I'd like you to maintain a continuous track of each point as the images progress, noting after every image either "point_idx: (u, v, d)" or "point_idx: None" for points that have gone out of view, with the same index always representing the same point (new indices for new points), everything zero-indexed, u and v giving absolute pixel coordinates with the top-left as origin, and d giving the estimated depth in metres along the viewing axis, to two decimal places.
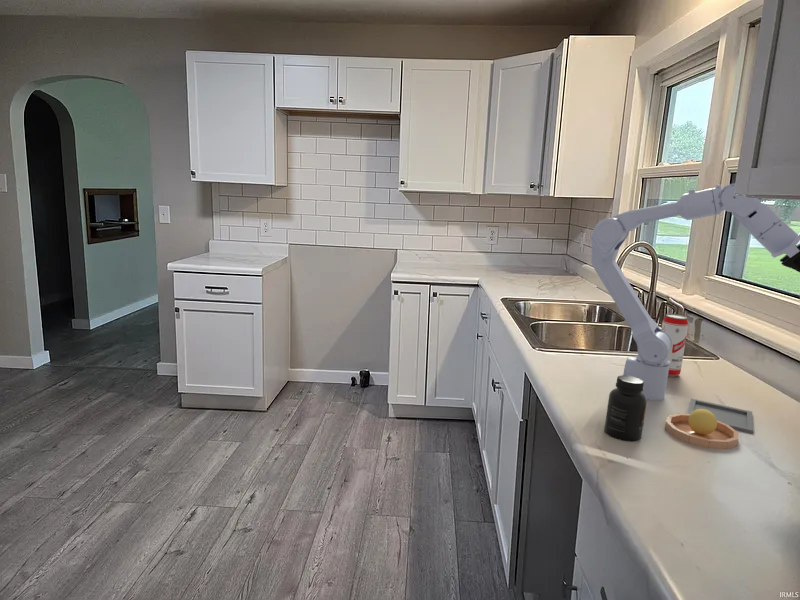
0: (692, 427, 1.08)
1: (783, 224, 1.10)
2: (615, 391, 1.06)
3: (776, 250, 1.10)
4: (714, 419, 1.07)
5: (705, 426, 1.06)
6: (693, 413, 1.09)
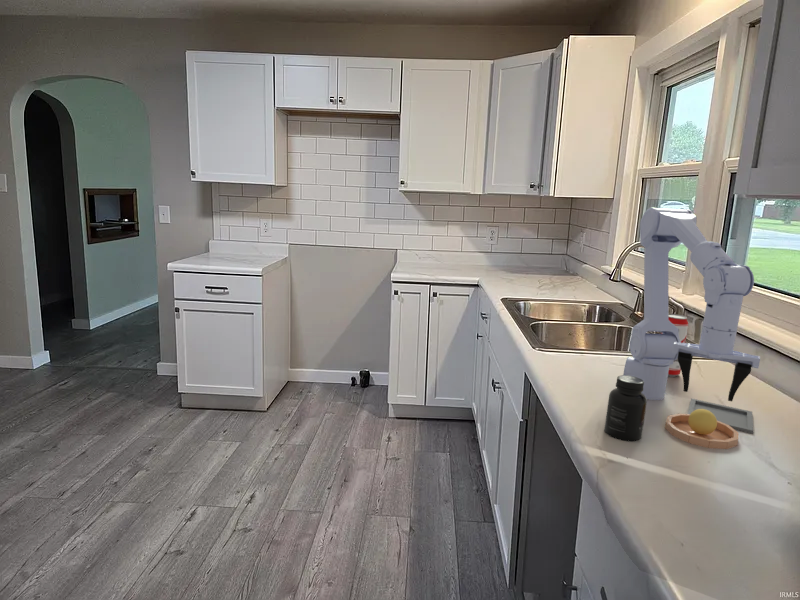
0: (692, 427, 1.08)
1: (709, 334, 1.03)
2: (615, 391, 1.06)
3: None
4: (714, 419, 1.07)
5: (705, 426, 1.06)
6: (693, 413, 1.09)
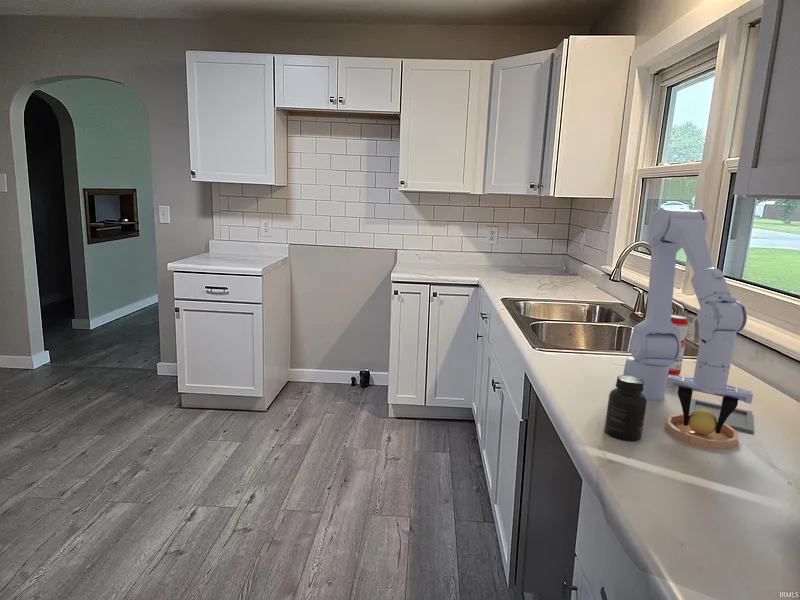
0: (692, 427, 1.08)
1: (703, 369, 1.05)
2: (615, 391, 1.06)
3: None
4: (714, 419, 1.07)
5: (706, 426, 1.06)
6: (693, 413, 1.09)
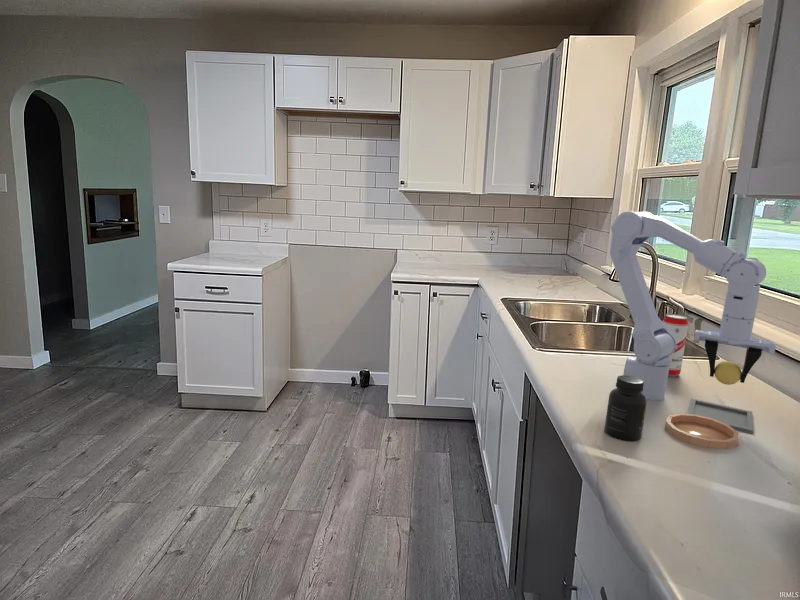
0: (718, 377, 1.16)
1: (729, 322, 1.13)
2: (615, 391, 1.06)
3: None
4: (739, 369, 1.14)
5: (731, 375, 1.14)
6: (719, 365, 1.16)
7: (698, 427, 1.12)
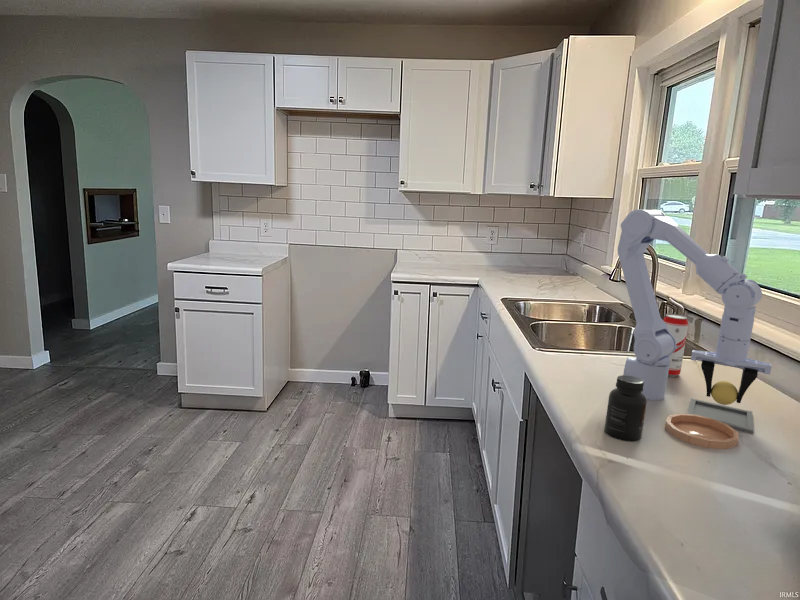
0: (714, 398, 1.17)
1: (725, 343, 1.14)
2: (615, 391, 1.06)
3: None
4: (735, 390, 1.15)
5: (727, 396, 1.15)
6: (715, 385, 1.17)
7: (698, 427, 1.12)
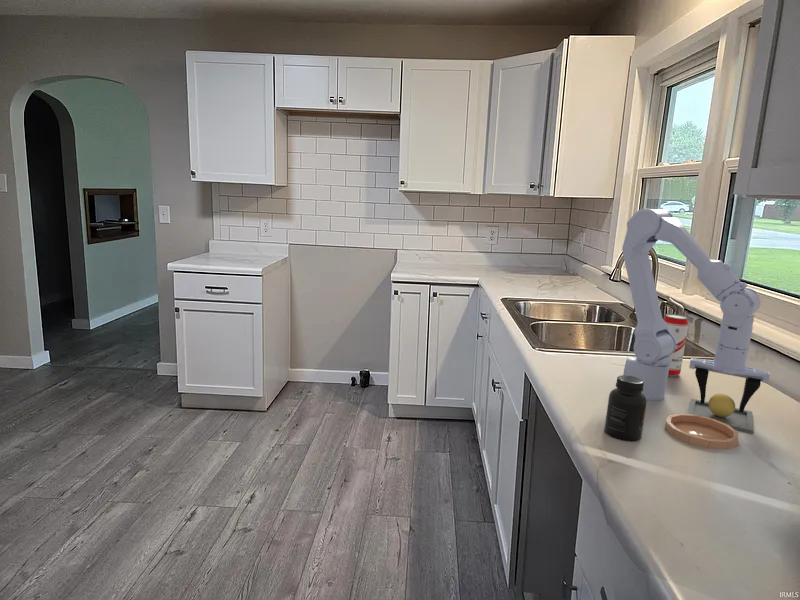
0: (712, 410, 1.18)
1: (723, 352, 1.14)
2: (615, 391, 1.06)
3: None
4: (732, 402, 1.16)
5: (724, 408, 1.16)
6: (713, 397, 1.18)
7: (698, 427, 1.12)
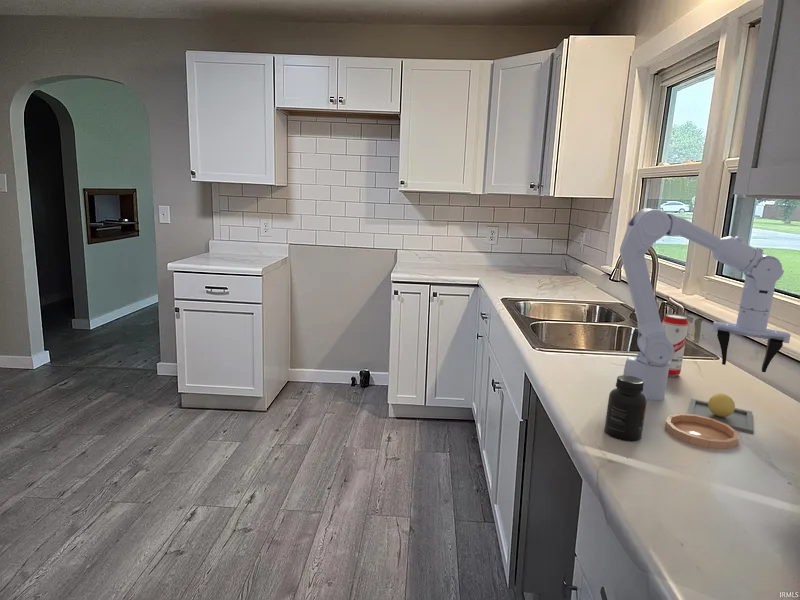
0: (712, 410, 1.18)
1: (746, 314, 1.20)
2: (615, 391, 1.06)
3: None
4: (732, 402, 1.16)
5: (724, 408, 1.16)
6: (712, 397, 1.18)
7: (698, 427, 1.12)
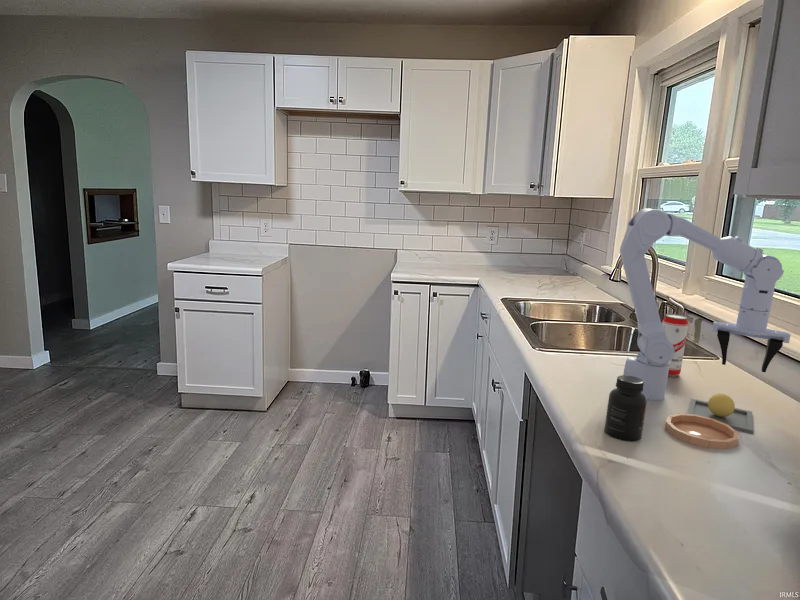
0: (711, 410, 1.18)
1: (746, 314, 1.20)
2: (615, 391, 1.06)
3: None
4: (732, 402, 1.16)
5: (724, 408, 1.16)
6: (712, 397, 1.18)
7: (698, 427, 1.12)
